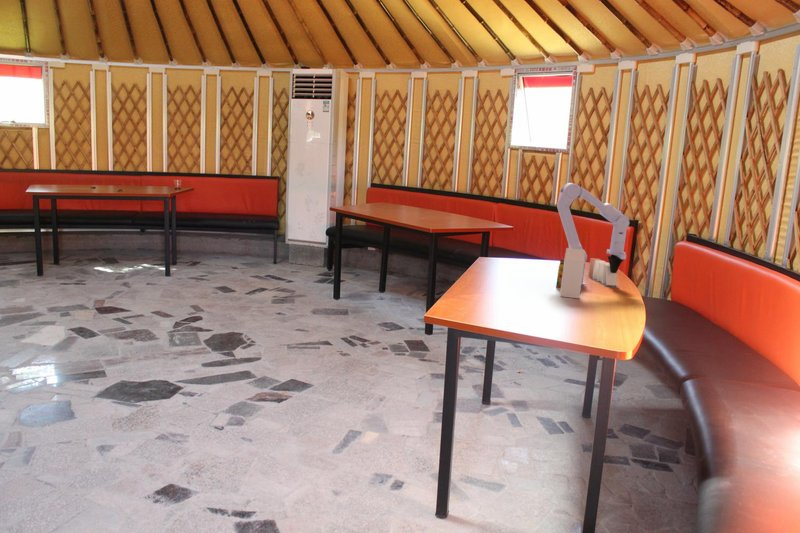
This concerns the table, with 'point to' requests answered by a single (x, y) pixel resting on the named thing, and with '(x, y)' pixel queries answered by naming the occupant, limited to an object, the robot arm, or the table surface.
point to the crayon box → (560, 274)
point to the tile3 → (601, 270)
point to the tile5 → (592, 267)
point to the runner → (600, 282)
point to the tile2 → (604, 274)
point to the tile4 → (596, 268)
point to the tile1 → (610, 277)
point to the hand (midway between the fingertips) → (613, 272)
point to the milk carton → (572, 273)
